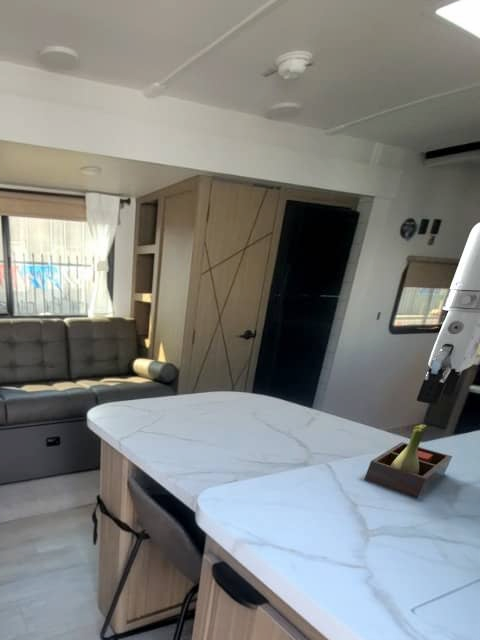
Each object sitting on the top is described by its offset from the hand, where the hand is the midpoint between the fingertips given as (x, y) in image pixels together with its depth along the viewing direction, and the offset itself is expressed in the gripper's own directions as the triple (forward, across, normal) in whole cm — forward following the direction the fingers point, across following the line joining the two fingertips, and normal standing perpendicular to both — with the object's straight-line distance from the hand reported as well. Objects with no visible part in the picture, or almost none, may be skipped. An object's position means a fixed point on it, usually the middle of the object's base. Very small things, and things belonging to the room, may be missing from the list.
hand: (434, 398), depth 77 cm
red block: (+18, +8, 0) cm, 20 cm away
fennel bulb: (+18, -1, 0) cm, 18 cm away
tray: (+18, +4, 0) cm, 19 cm away
